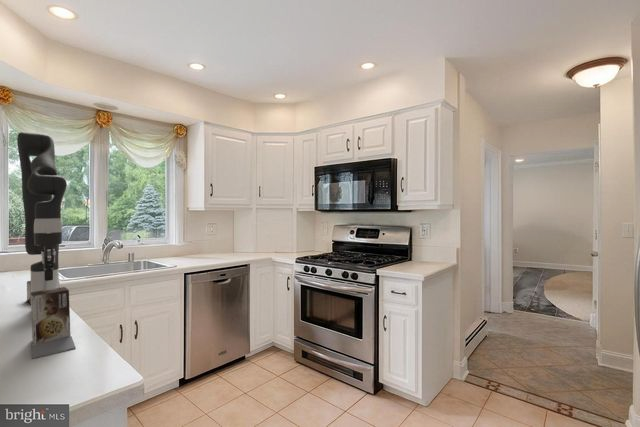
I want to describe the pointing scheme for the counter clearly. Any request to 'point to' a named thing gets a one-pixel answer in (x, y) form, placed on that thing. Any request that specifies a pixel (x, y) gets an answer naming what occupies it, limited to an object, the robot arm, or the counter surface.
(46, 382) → the counter surface
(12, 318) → the counter surface
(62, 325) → the coffee box
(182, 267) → the counter surface
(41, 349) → the mat
